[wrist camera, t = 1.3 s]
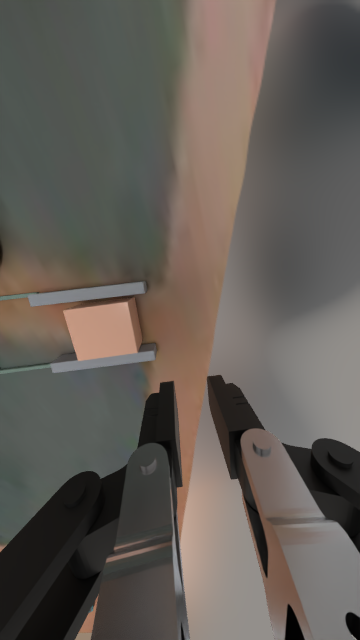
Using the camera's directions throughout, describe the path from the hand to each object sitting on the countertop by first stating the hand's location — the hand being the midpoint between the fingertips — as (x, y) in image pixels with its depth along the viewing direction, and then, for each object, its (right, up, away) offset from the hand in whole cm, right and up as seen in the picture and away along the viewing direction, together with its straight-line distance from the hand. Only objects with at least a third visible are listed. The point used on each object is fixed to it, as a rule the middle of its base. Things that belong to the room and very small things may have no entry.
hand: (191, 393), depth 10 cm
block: (-11, +4, +18) cm, 22 cm away
